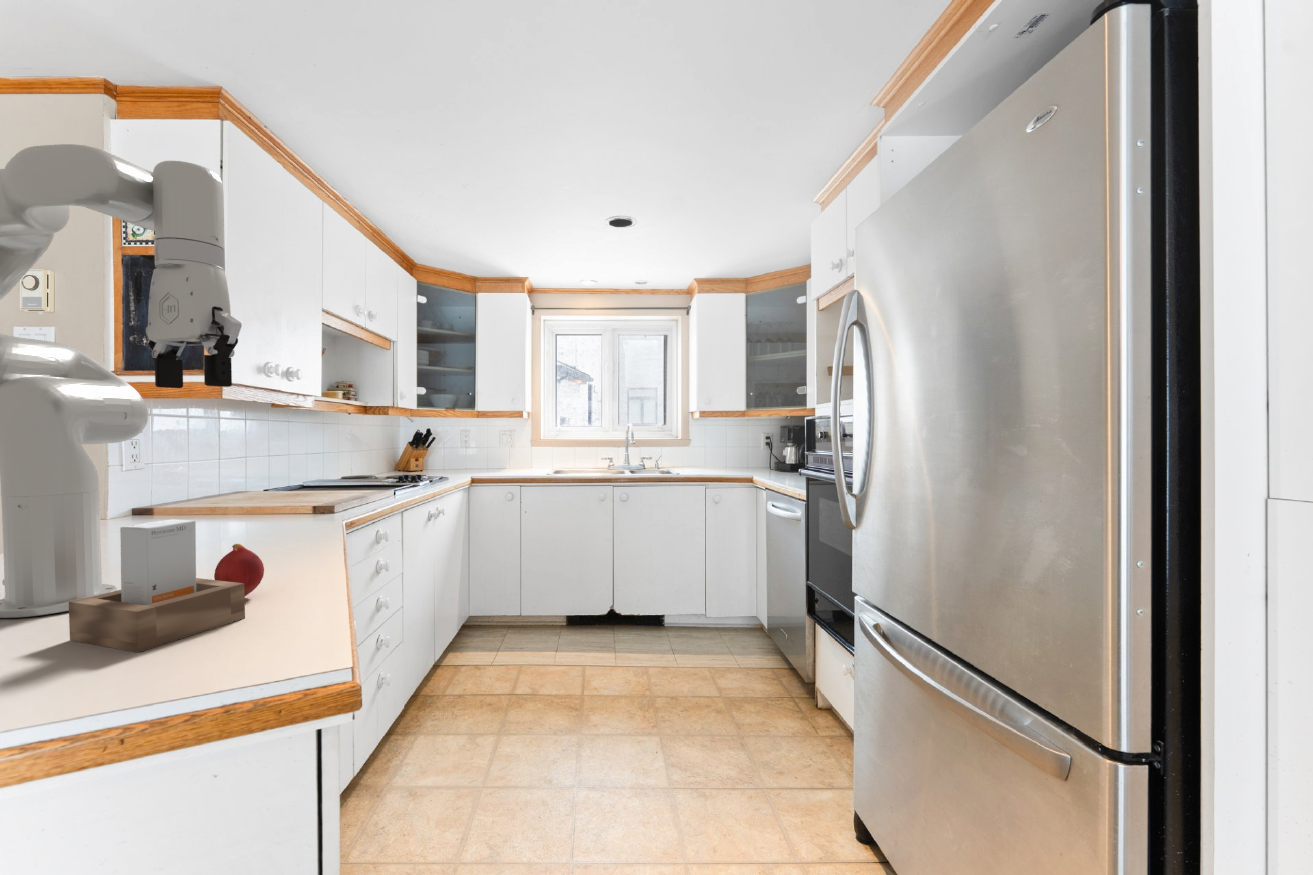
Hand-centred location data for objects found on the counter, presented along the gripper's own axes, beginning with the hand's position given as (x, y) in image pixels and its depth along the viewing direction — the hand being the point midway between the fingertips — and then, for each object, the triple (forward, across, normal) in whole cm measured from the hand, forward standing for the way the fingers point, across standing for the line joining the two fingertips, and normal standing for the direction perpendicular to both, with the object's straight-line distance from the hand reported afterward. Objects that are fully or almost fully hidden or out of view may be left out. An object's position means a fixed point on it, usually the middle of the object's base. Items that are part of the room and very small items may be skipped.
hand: (193, 386), depth 81 cm
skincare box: (+29, +5, -8) cm, 31 cm away
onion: (+30, +2, +4) cm, 31 cm away
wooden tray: (+30, +5, -8) cm, 31 cm away
